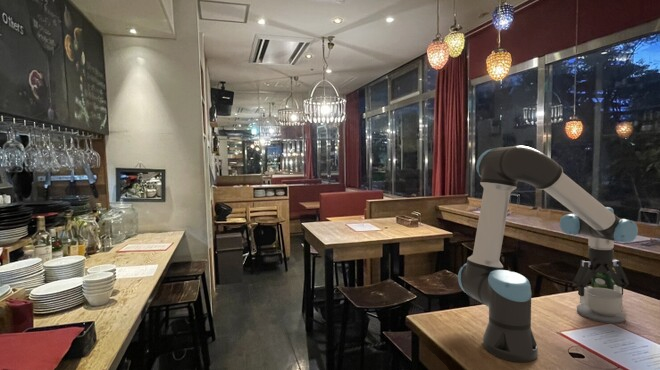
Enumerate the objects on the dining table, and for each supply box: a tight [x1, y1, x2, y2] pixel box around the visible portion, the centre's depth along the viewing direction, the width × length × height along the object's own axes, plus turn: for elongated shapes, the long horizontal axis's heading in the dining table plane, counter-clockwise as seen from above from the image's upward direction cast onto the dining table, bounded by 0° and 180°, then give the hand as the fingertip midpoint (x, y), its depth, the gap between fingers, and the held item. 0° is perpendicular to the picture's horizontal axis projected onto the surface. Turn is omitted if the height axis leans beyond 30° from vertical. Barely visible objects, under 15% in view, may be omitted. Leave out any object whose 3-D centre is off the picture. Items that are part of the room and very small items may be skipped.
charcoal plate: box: [576, 303, 627, 325], centre depth 129 cm, size 15×15×2 cm
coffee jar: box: [591, 257, 617, 290], centre depth 143 cm, size 10×8×19 cm
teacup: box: [585, 285, 624, 316], centre depth 129 cm, size 14×11×8 cm
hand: (600, 303), depth 129 cm, fingers open, 12 cm apart
